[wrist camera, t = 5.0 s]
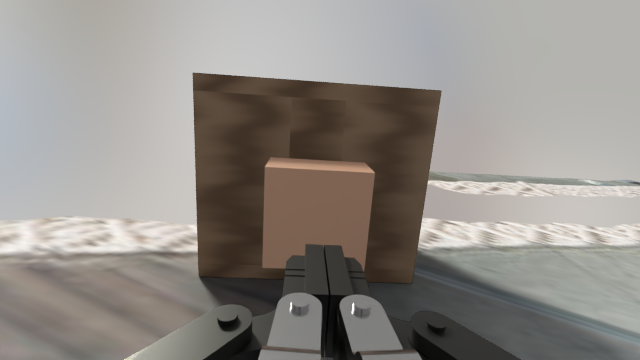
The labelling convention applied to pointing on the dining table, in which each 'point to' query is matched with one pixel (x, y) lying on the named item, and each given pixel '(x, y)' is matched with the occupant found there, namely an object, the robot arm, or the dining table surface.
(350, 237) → the pinkish brown block
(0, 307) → the dining table surface
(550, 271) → the dining table surface
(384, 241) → the box
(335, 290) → the robot arm
